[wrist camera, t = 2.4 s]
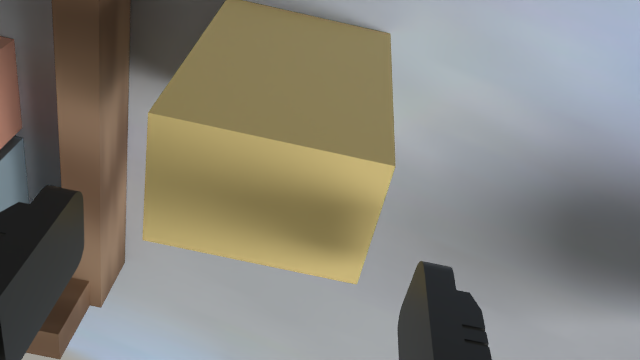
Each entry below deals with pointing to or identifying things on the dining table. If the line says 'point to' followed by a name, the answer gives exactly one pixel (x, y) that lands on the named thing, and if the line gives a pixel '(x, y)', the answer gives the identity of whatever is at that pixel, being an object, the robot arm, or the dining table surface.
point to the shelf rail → (90, 151)
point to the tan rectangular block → (274, 142)
